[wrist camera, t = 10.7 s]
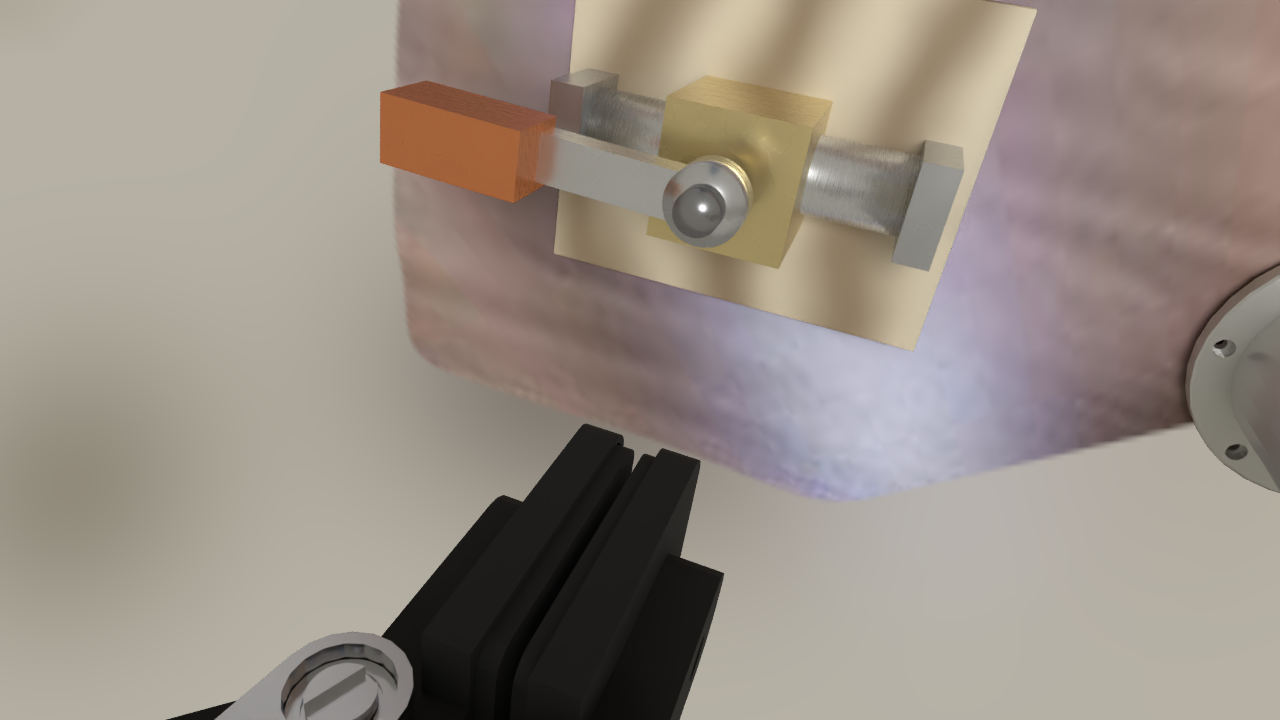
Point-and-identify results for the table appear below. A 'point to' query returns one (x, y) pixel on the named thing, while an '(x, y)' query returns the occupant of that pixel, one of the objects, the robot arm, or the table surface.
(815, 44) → the board
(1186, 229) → the table surface
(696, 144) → the valve body
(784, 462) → the table surface
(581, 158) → the lever
